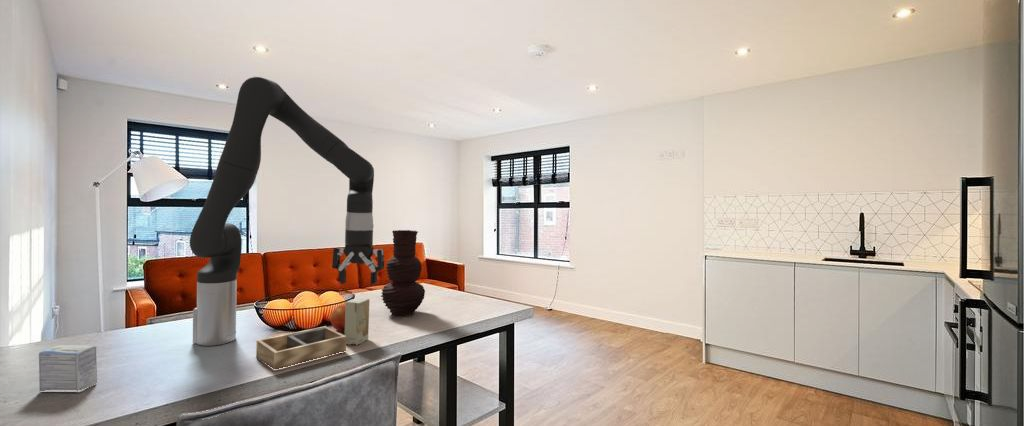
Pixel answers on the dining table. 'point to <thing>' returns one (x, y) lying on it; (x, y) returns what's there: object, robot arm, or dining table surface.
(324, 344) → the walled box
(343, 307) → the apple
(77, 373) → the grey striped block
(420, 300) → the vase
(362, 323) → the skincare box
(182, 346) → the dining table surface
